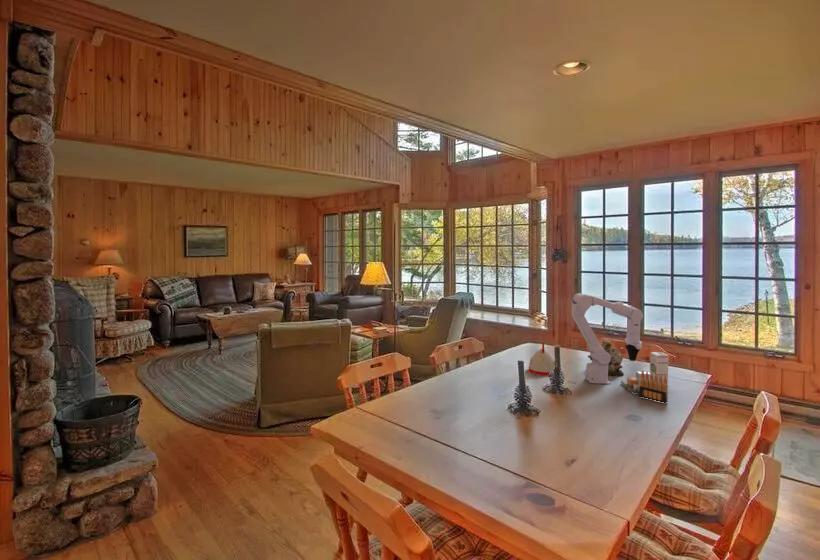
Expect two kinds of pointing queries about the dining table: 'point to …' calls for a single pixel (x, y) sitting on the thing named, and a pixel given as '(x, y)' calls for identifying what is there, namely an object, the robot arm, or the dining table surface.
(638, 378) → the steel block
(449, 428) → the dining table surface
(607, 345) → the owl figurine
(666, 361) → the syrup box
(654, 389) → the ammunition clip
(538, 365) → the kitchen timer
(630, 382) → the block
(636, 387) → the vise
